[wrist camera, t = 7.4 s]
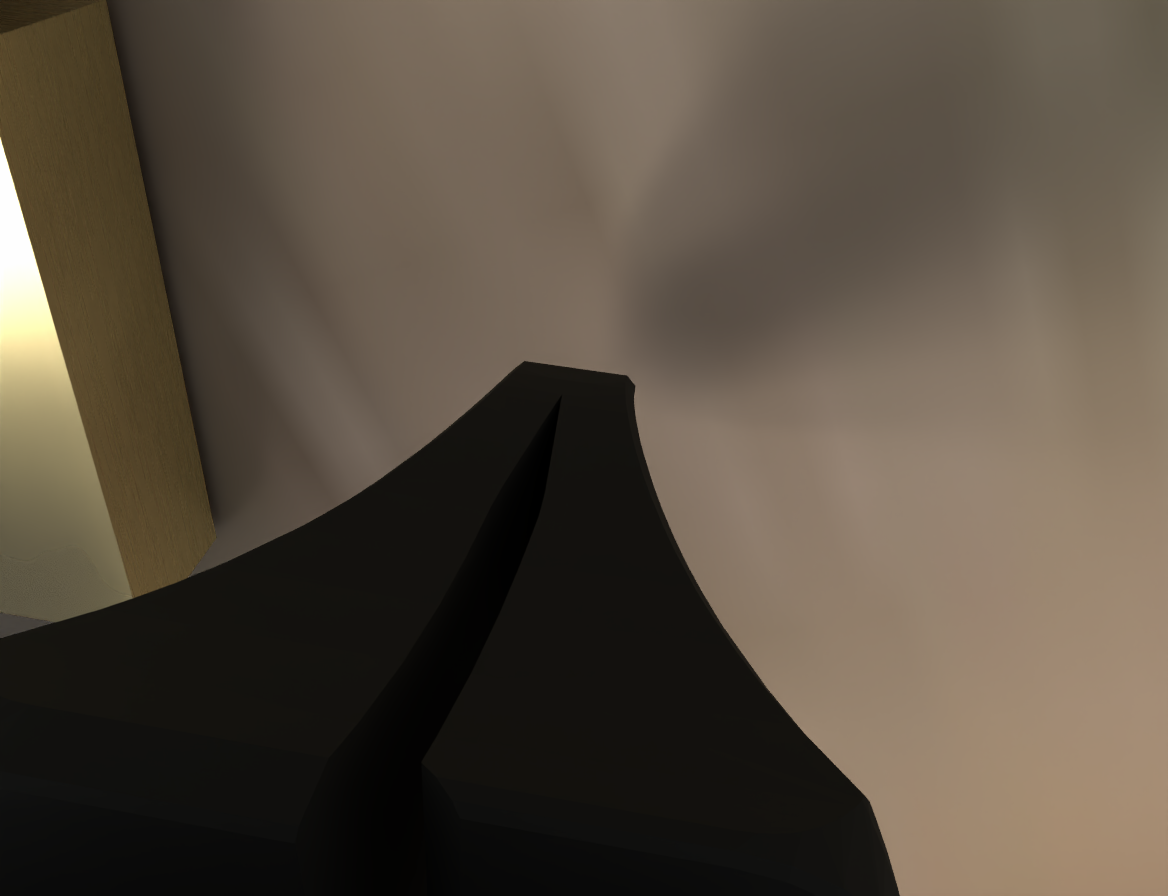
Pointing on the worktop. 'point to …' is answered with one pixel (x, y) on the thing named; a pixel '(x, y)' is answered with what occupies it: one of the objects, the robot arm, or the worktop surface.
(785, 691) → the worktop surface
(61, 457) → the brass plate
